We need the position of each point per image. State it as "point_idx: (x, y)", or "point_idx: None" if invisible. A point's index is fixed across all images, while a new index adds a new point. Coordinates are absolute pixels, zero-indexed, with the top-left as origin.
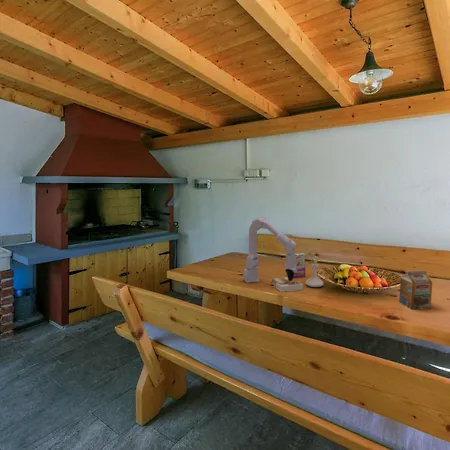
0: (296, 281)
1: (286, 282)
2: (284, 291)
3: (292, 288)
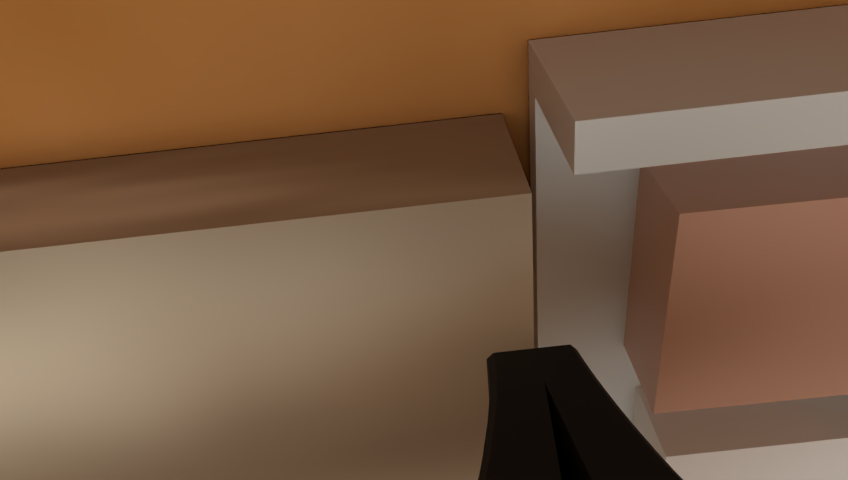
0: (611, 162)
1: None
2: None
3: None
